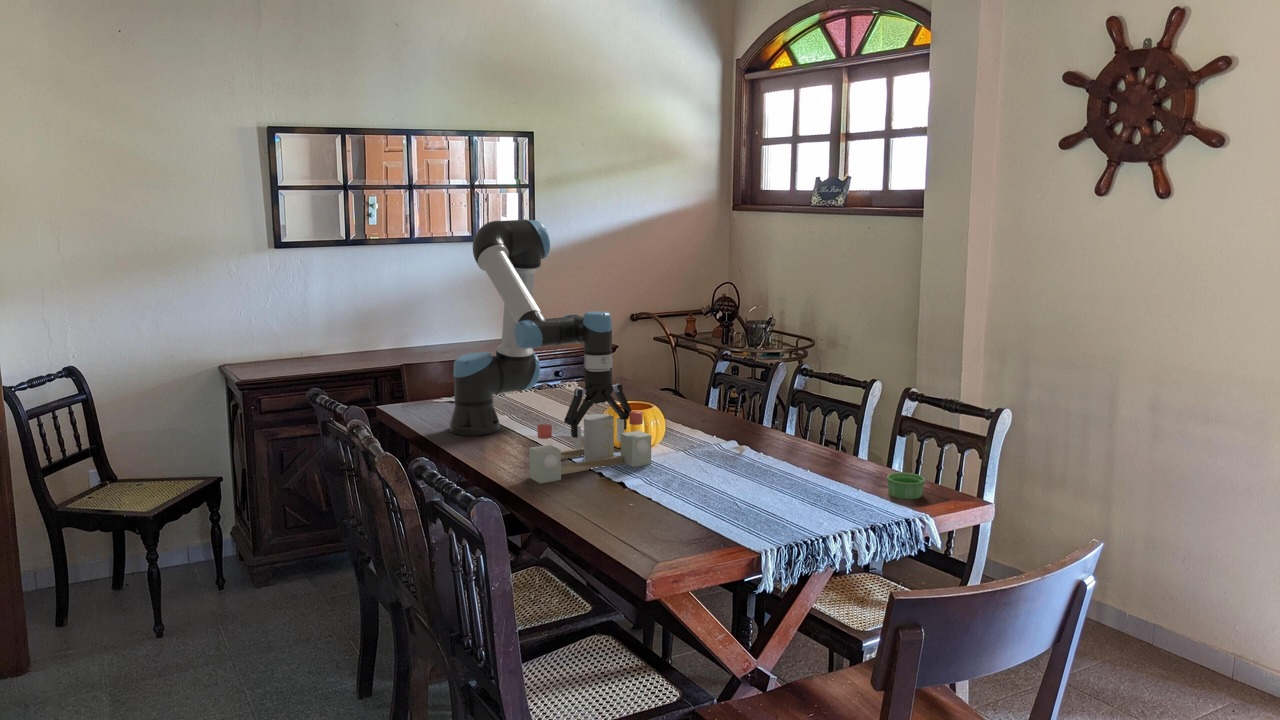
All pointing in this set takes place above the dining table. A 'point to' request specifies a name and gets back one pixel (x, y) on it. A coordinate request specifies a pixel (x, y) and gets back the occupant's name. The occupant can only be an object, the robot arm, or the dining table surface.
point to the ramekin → (905, 485)
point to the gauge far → (635, 417)
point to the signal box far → (636, 448)
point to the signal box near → (545, 463)
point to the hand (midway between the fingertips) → (599, 445)
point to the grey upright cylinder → (598, 436)
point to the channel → (587, 464)
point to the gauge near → (544, 431)
